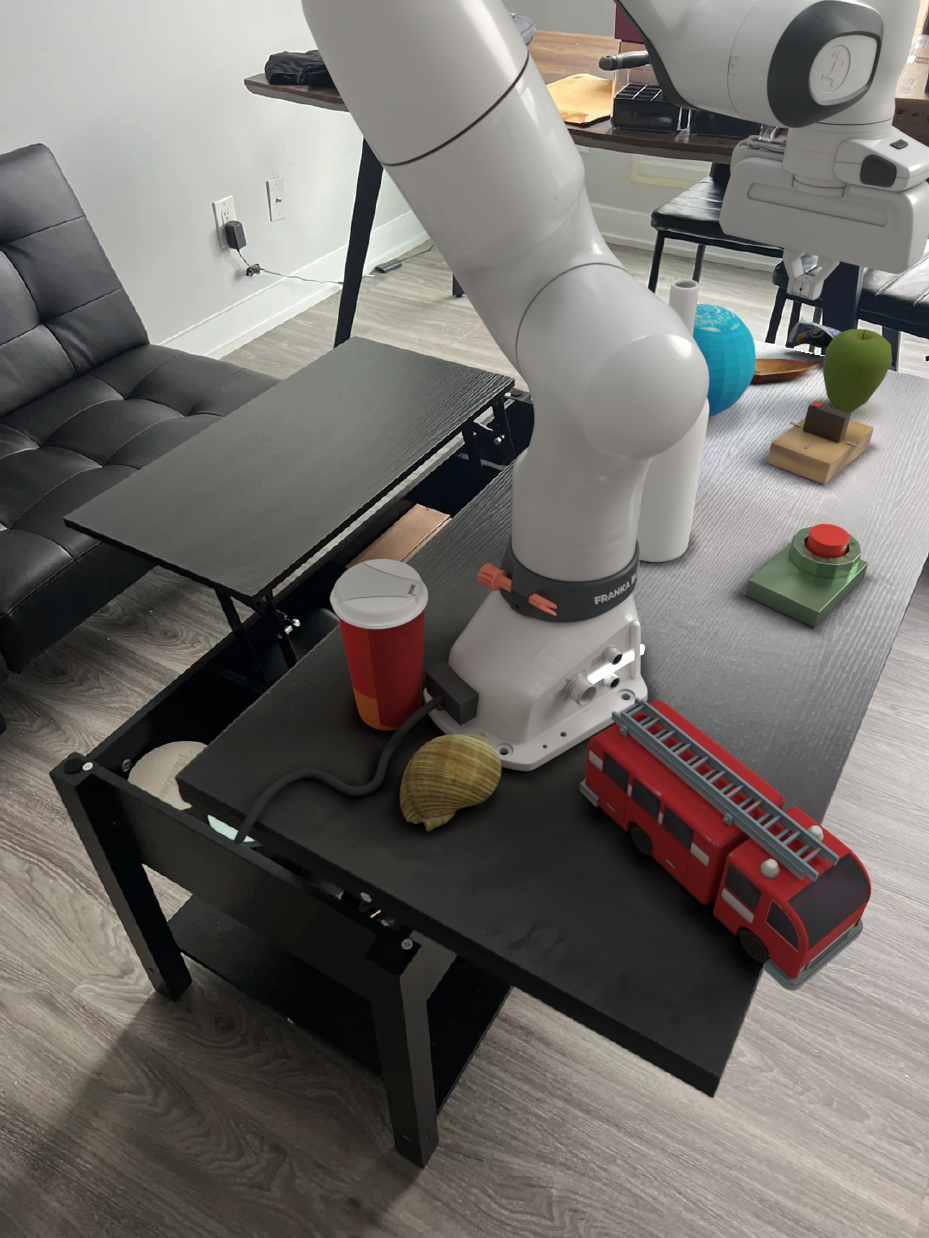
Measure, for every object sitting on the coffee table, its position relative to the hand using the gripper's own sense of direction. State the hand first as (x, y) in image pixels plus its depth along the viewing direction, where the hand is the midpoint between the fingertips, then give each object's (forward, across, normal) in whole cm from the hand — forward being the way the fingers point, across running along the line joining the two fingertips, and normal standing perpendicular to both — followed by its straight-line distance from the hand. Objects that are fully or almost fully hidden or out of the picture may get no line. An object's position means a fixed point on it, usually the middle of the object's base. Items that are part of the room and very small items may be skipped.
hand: (803, 295), depth 93 cm
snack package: (+22, -7, +40) cm, 47 cm away
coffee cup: (+26, -8, -53) cm, 60 cm away
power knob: (+23, 0, +15) cm, 27 cm away
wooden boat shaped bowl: (+23, -16, +31) cm, 42 cm away
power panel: (+26, 0, +15) cm, 30 cm away
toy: (+26, +24, -48) cm, 59 cm away
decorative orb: (+26, -19, +14) cm, 35 cm away
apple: (+26, -4, +29) cm, 39 cm away
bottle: (+26, -5, -15) cm, 30 cm away
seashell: (+26, +4, -57) cm, 63 cm away
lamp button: (+22, +12, -8) cm, 26 cm away
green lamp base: (+26, +12, -11) cm, 30 cm away
